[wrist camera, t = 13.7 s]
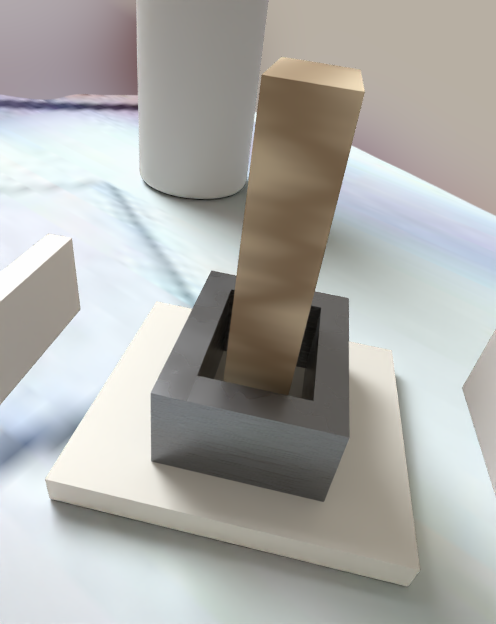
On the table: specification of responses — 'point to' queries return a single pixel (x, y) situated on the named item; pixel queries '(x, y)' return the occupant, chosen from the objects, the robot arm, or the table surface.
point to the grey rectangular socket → (254, 402)
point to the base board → (239, 496)
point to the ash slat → (288, 214)
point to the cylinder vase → (197, 93)
